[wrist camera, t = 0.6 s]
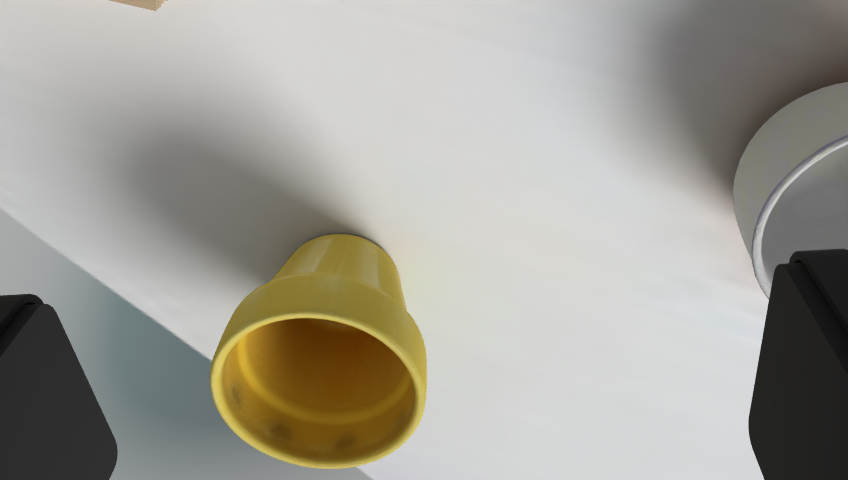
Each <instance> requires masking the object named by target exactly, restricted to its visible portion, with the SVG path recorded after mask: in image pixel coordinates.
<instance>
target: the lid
mask: <svg viewBox="0 0 848 480" xmlns="http://www.w3.org/2000/svg"><path fill="white" fill-rule="evenodd" d="M110 1H115V2H119V3H123V4H128V5H132V6H137V7H141V8H146V9H150V10H154V11H156V10H157V9H158V8H159V7H160V6H161V0H110Z"/></svg>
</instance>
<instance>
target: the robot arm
mask: <svg viewBox="0 0 848 480" xmlns="http://www.w3.org/2000/svg"><path fill="white" fill-rule="evenodd" d="M749 436H750V441H751V445H752V448H753V451H754V454H755V456H756V459H757V461H758V464H759V466H760V469H761V472H762V474H763V477H764V479H765V480H848V250H847V249H843V248H842V249H824V250H806V251H796V252H794V253H793V254H792V256H791V257H790V260H789V263H786V264H779V265H777V266H776V268H775V271H774V275H773V280H772V286H771V292H770V298H769V304H768V310H767V315H766V321H765V327H764V333H763V339H762V344H761V350H760V356H759V362H758V368H757V374H756V379H755V385H754V391H753V397H752V403H751V409H750V414H749ZM116 461H117V444H116V441H115V438H114V436H113V434H112V432H111V429H110V427H109V425H108V423H107V421H106V419H105V417H104V414H103V413H102V410H101V408H100V406H99V404H98V401H97V400H96V397H95V395H94V393H93V391H92V389H91V386H90V384H89V382H88V380H87V378H86V376H85V374H84V371H83V369H82V367H81V365H80V363H79V361H78V359H77V356H76V354H75V352H74V350H73V348H72V346H71V343H70V341H69V339H68V337H67V335H66V333H65V330H64V328H63V326H62V324H61V322H60V320H59V318H58V315H57V313H56V312H55V310H54V309H53V307H51V306H50V305H48V304H44V303H43V302H42V300H41V299H40V298H39V297H37V296H36V295H32V294H21V295H3V296H0V480H109V478H110V476H111V474H112V472H113V470H114V468H115V465H116Z"/></svg>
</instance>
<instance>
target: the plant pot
mask: <svg viewBox="0 0 848 480" xmlns="http://www.w3.org/2000/svg"><path fill="white" fill-rule="evenodd" d="M426 386H427V361H426V350H425V345H424V341H423V338H422V335H421V333H420V330H419V328H418V326H417V325H416V323H415V321H414V320H413V318H412V317H411V316H410V314H409V313H408V312H407V309H406V305H405V300H404V296H403V292H402V287H401V283H400V278H399V275H398V271H397V268H396V266H395V264H394V262H393V261H392V259H391V258H390V256H389V255H388V254H387V253H386V252H385V251H384V250H383V249H382V248H380V247H379V246H378V245H376V244H374V243H373V242H371V241H369V240H367V239H364V238H361V237H358V236H354V235H349V234H329V235H324V236H320V237H317V238H314V239H312V240H310V241H308V242H306V243H304V244H303V245H302V246H300V247H299V248H298V249H297V250H296V251H295V252H294V253H293V254H292V256H291V257H290V258H289V259H288V260H287V262H286V263H285V264H284V265H283V267H282V268H281V269H280V270H279V272H278V273H277V274H276V275H275V276H274V278H273V279H272V280H271V281H270V282H268V283H266V284H264V285H262V286H260V287H259V288H257V289H256V290H254V291H253V292H252V293H250V294H249V295H248V296H247V297H246V298H245V299H244V300H243V301H242V302H241V303H240V305H239V306H238V307H237V308H236V310H235V312H234V313H233V315H232V317H231V319H230V321H229V323H228V325H227V327H226V329H225V331H224V333H223V335H222V337H221V340H220V342H219V345H218V347H217V350H216V352H215V355H214V357H213V360H212V364H211V370H210V388H211V393H212V397H213V400H214V403H215V405H216V408H217V410H218V411H219V413H220V415H221V416H222V418H223V420H224V421H225V422H226V424H227V425H228V426H229V427H230V428H231V429H232V430H233V431H234V432H235V433H236V434H237V435H238V436H239V437H240V438H241V439H243V440H244V441H245V442H246V443H248V444H249V445H251V446H252V447H254V448H255V449H257V450H259V451H261V452H263V453H265V454H267V455H269V456H271V457H273V458H276V459H279V460H281V461H284V462H287V463H291V464H295V465H299V466H305V467H310V468H322V469H337V468H349V467H355V466H360V465H364V464H367V463H370V462H373V461H376V460H378V459H381V458H383V457H385V456H387V455H389V454H390V453H392V452H394V451H395V450H396V449H398V448H399V447H400V446H401V445H403V444H404V443H405V442H406V441H407V440H408V439H409V437H410V436H411V435H412V434H413V432H414V431H415V429H416V428H417V426H418V424H419V423H420V420H421V418H422V415H423V412H424V407H425V400H426Z"/></svg>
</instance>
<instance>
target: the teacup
mask: <svg viewBox="0 0 848 480" xmlns="http://www.w3.org/2000/svg"><path fill="white" fill-rule="evenodd" d="M733 201H734V211H735V215H736V220H737V223H738V226H739V229H740V232H741V235H742V238H743V241H744V243H745V246H746V248H747V250H748V253H749V255H750V257H751V260H752V264H753V268H754V272H755V277H756V279H757V281H758V283H759V285H760V287H761V289H762V290H763V292H764V293H765V295H766V297H767V298H768V299H769V298H770V292H771V286H772V280H773V275H774V271H775V268H776V266H777V265H779V264H786V263H789V260H790V257H791V256H792V254H793V253H794V252H796V251H806V250H824V249H842V248H843V249H847V250H848V82H844V83H839V84H834V85H830V86H827V87H823V88H821V89H818V90H815V91H813V92H810V93H808V94H806V95H804V96H802V97H800V98H798V99H796V100H794V101H792V102H791V103H789V104H787V105H786V106H785V107H783V108H782V109H781V110H779V111H778V112H776V113H775V114H774V115H773V116H772V117H770V118H769V119H768V120H767V121H766V122H765V123H764V124H763V125H762V126H761V128H760V129H759V130H758V131H757V132H756V134H755V135H754V136H753V138H752V139H751V140H750V142H749V143H748V145H747V147H746V149H745V151H744V153H743V155H742V157H741V159H740V161H739V164H738V167H737V170H736V175H735V180H734V187H733Z"/></svg>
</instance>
